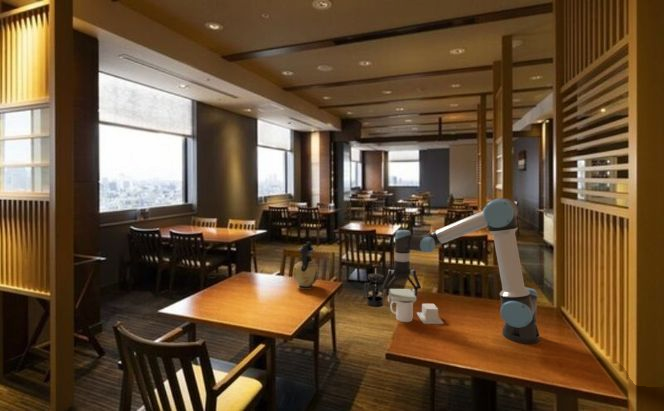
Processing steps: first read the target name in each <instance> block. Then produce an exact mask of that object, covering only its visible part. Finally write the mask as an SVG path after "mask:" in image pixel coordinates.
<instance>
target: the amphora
mask: <svg viewBox="0 0 664 411" xmlns="http://www.w3.org/2000/svg"><path fill="white" fill-rule="evenodd" d="M297 250H298V251H299V252H300V254H301V259H300V260H299V261H298V262H297V263H295V265H294V266H293V271H292V273H293V277H294V280H295V282H296V283H297V284H298V289H300V290H311V289H313V288H314V286H313V285H314V284H315V283H316V282H317V279H318V278H319V274H320V268H319V265H318V263H316V262H314V261H313V260H312V255H313V253H314V251H316V248H315V247H313V246H312V242H311V241H310V240H309V241H306V243H304V244H303V245H302V247H299V248H297Z"/></svg>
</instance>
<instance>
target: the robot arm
mask: <svg viewBox="0 0 664 411" xmlns="http://www.w3.org/2000/svg"><path fill="white" fill-rule="evenodd" d="M518 215H519V207H518V205H517V204H516V202H515V201H514V200H512V199H510V198H506V197H503V198H502V197H501V198H495V199H492V200H490V201H488V203H487V204H486V205H485V206H484V208H483V209H482V210H481V211H479V212H477V213H474V214H472V215H469V216H467V217H465V218H462V219H460V220H457V221H455V222H452V223H449V224H448V225H446V226H443V227H440V228H438V229H435V230H434V231H430V232H428V233H426V234H423V235H415V234H414V235H413V234H412V233H411V231H410V230H407V229H398V230H396V231H395V238H394V242H395V244H394V259H395V260H394V269H388V271H387V275H386V278H385V279H384V281H383V289H385V295H386V296H387V302H388V303H391V298H390V289H391V287H392V286H393V285H394V284H395V282H396V281H397V280H398V279H399V280H400V279H401V280H402V279H407V281H408V282H409V283H410V285H411V286H412V287H413V288H412V290H411V291H412V293H413V294H414V295H415V296H416V297H417V296H418V290H420V289H421V288H422V287H421V285H420V282H419V279H418V277H417V271H416V270H415V269H414V268H413V269H410V264H411V263H410V260H411V251H414V252H415V251H416V252H417V251H418V252H421V253H432V252H434V250H435V247H437V246H440V245H442V244H445V243H447V242H451V241H452V240H455V239H458V238H460V237H464V236H466V235H468V234H470V233H474V232H476V231H478V230H481V229H484V228H487V230H488V232H489V233H490V234H491V235H492V237H493V242H494V247H495V254H496V259H497V265H498V270H499V276H500V277H499V278H500V282H501V288H502V290H501V291H500V292H499V298H500V303H501V304H500V308H499V309H500V313H499V314H500V316H501V319H502V320H503V321H504V325H503V327H502V335H503V337H504V338H506V339H508V340H510V341H513V342H516V343H520V344H526V345H528V344H529V345H532V344H538V343H539V342H540V336H541V335H540V332H539V329H538V324H537V308H538V307H537V306H538V305H537V304H538V298H539V296H538V291H537V290H536V289H534V288H531V287H527V286H525V283H524V276H523V271H522V265H521V260H520V252H519V248H518V242H517V236H516V232H517V230H518V229H519V226H518V220H517V219H518V218H517V217H518ZM393 274H394V276H393V277H392V279H391V280H390V278H391V276H392V275H393ZM410 274H411V275H412V277H413V279H414V282H415V283H414V282H413V280H412V278H410V276H409V275H410ZM415 302H416V301H413V304H415Z"/></svg>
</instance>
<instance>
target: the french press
mask: <svg viewBox="0 0 664 411" xmlns="http://www.w3.org/2000/svg"><path fill="white" fill-rule="evenodd" d="M371 266H372V267H374V269H375V270H374V271H375V273H368V274H367V277H368V280H369V282H365V283H364V284H363V287H364V288H363V298H364V299H365V300H367V301H366V305H367V306H368V307H372V308H380V307H383V306H384V288H383V284H384V282H381V279H382V278H384V274H381V273H377V268H378V267H380V265H379V264H372V265H371ZM366 285H367V288H370V289H372V290H370V291H369V289H367V290H366ZM379 289H382V291H379ZM366 291H367V296H366Z"/></svg>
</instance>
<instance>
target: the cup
mask: <svg viewBox="0 0 664 411" xmlns="http://www.w3.org/2000/svg"><path fill="white" fill-rule="evenodd" d="M393 304H396V306H395V308H396V310H395V311H394V310H393ZM413 307H414V303H413V301H392V300H391V301H390V304H389V308H390V313H392V314H393V315H395V318H396V320H397V321H398V322H401V323H410V322H412V321H413V314H414V308H413Z"/></svg>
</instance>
